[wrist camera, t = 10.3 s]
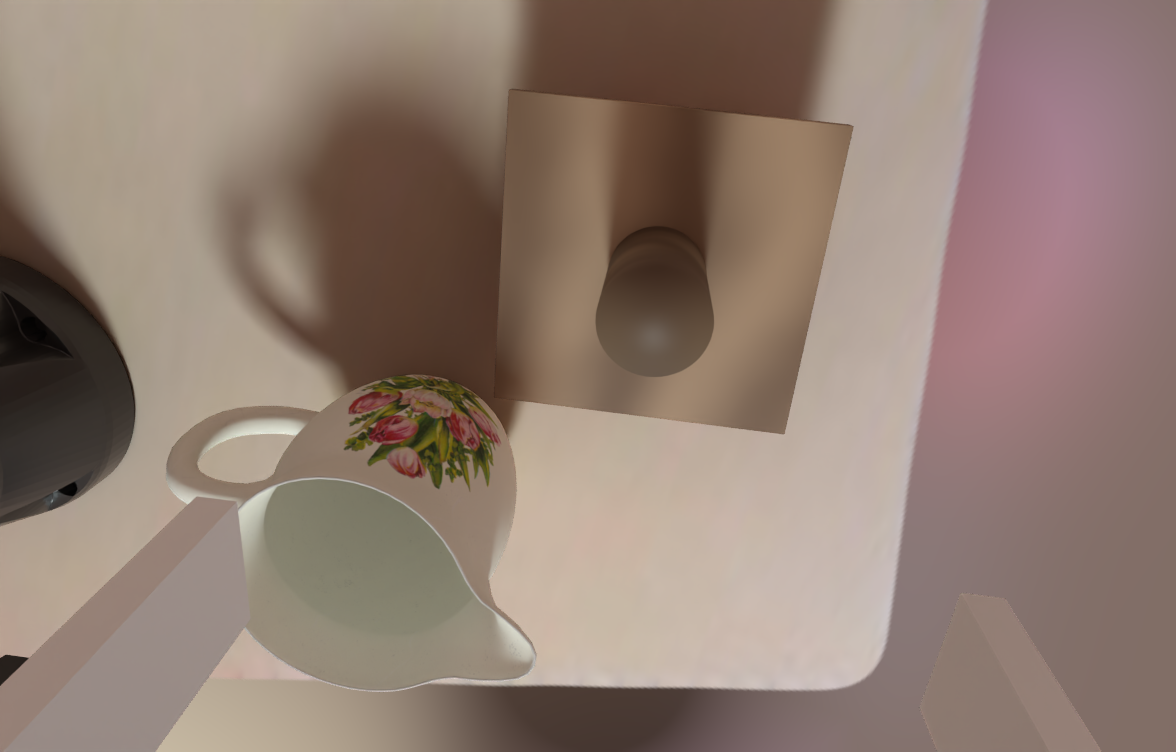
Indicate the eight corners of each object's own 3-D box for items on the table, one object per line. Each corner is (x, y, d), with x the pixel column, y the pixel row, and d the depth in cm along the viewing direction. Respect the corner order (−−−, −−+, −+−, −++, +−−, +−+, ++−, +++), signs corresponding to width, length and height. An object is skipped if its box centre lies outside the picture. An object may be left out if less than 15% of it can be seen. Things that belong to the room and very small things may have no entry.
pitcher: (280, 283, 39) (97, 393, 27) (607, 400, 40) (579, 560, 27) (250, 456, 44) (80, 620, 31) (544, 557, 44) (495, 758, 32)
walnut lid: (497, 390, 35) (460, 464, 28) (512, 88, 29) (471, 98, 23) (781, 426, 34) (807, 509, 28) (848, 124, 29) (898, 144, 23)
